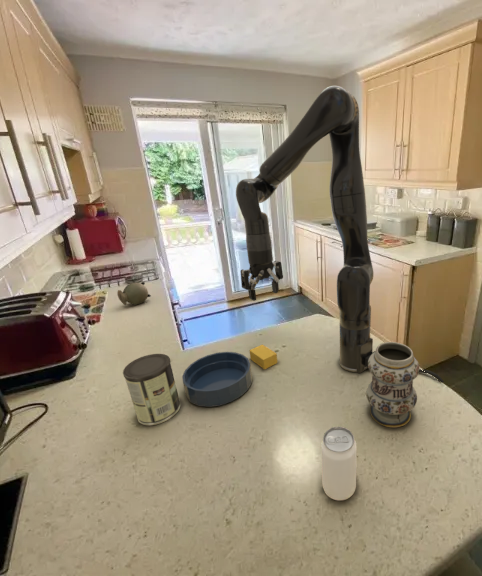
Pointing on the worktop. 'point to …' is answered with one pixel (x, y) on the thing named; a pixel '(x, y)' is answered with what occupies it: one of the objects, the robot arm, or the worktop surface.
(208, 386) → the bowl
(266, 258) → the robot arm
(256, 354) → the sponge
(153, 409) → the coffee can
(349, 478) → the can
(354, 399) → the worktop surface
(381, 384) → the apothecary jar
